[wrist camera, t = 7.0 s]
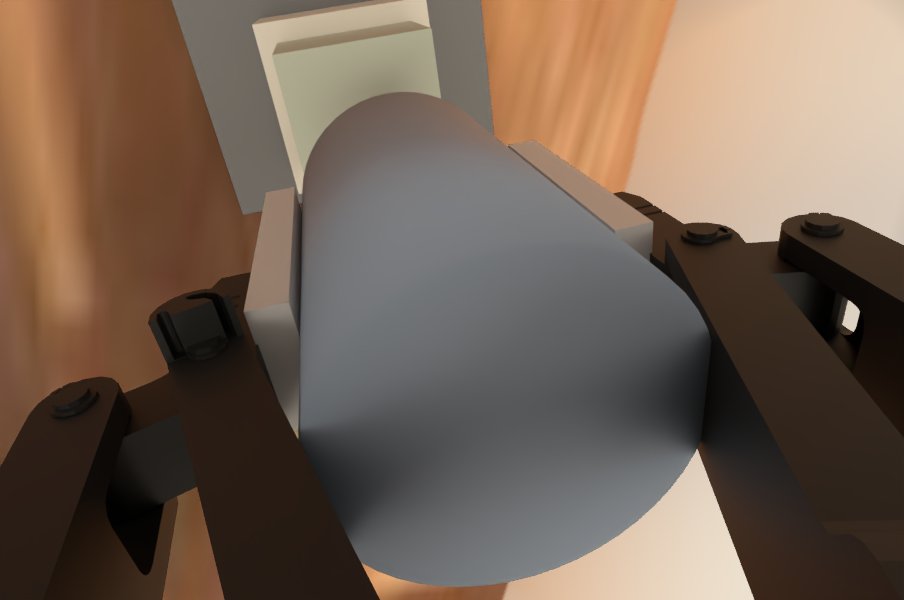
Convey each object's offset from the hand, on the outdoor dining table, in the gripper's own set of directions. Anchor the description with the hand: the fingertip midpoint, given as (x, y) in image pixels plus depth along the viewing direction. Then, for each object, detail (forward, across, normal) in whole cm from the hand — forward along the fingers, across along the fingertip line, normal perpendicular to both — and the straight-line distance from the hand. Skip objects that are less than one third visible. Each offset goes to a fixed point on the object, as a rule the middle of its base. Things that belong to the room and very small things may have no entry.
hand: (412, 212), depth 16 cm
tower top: (+18, 0, 0) cm, 18 cm away
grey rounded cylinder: (+1, 0, 0) cm, 1 cm away
